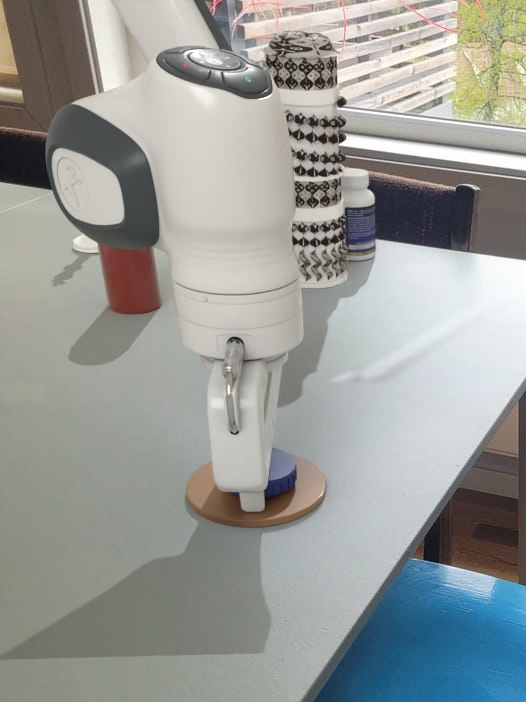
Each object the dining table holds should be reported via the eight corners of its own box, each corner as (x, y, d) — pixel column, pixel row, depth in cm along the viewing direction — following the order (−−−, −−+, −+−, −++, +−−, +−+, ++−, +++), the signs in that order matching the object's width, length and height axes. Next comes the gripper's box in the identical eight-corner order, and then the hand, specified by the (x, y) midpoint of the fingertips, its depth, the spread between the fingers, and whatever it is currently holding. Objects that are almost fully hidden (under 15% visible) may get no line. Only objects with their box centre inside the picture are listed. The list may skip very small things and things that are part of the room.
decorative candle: (304, 257, 124) (290, 24, 108) (366, 273, 121) (361, 35, 105) (257, 278, 117) (236, 33, 102) (322, 295, 114) (310, 44, 98)
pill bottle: (383, 252, 127) (383, 170, 121) (362, 264, 123) (360, 180, 117) (347, 245, 128) (344, 163, 122) (324, 256, 125) (321, 173, 118)
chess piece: (92, 255, 120) (75, 167, 114) (64, 247, 122) (46, 159, 116) (123, 246, 124) (109, 159, 117) (95, 237, 125) (80, 151, 119)
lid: (304, 465, 82) (303, 450, 81) (287, 502, 77) (286, 486, 76) (230, 457, 82) (229, 442, 81) (209, 493, 77) (207, 477, 76)
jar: (104, 313, 107) (85, 214, 100) (113, 294, 111) (96, 198, 105) (157, 314, 107) (142, 215, 101) (165, 295, 112) (151, 200, 105)
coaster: (178, 528, 75) (177, 521, 75) (195, 457, 84) (194, 451, 83) (324, 526, 77) (324, 520, 76) (327, 457, 85) (327, 450, 85)
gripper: (276, 375, 63) (291, 555, 72) (291, 266, 79) (301, 424, 88) (175, 375, 63) (202, 556, 71) (210, 265, 78) (229, 424, 87)
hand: (257, 482), depth 80 cm, fingers closed on lid, 6 cm apart
